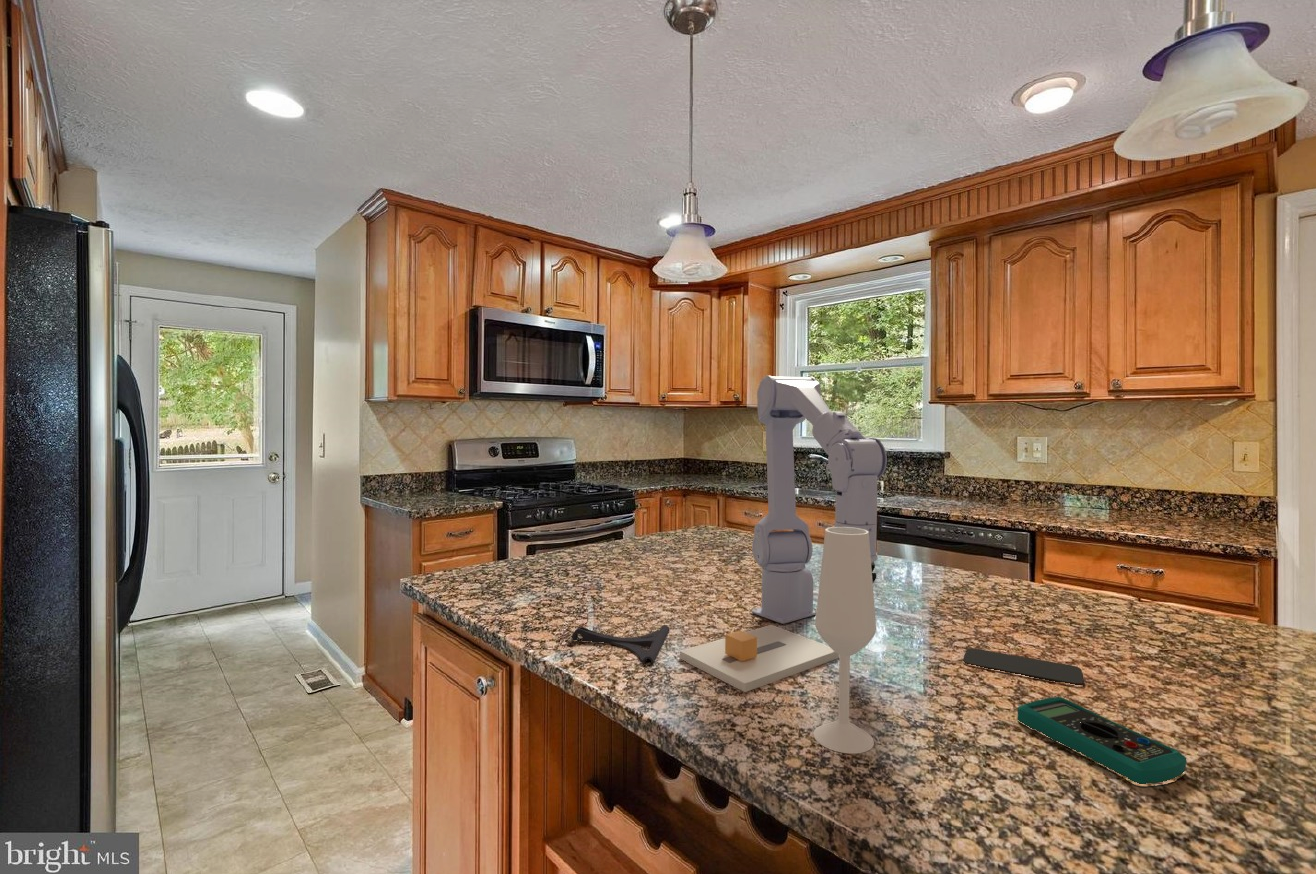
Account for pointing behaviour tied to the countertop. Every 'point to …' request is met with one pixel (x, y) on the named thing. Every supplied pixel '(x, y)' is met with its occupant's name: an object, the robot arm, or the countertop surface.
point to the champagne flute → (845, 624)
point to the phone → (1024, 666)
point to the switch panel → (760, 658)
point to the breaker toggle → (741, 645)
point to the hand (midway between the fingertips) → (854, 615)
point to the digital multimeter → (1103, 740)
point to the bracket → (629, 641)
